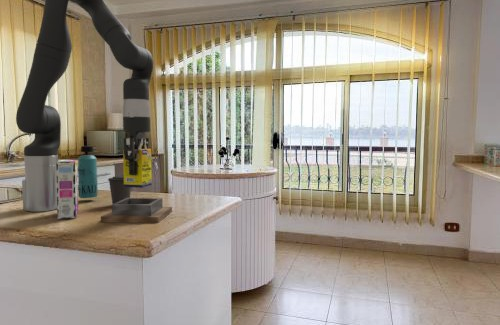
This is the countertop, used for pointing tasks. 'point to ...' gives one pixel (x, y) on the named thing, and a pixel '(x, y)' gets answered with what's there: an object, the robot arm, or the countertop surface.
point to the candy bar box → (67, 189)
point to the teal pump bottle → (87, 174)
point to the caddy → (137, 210)
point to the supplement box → (139, 170)
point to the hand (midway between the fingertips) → (137, 173)
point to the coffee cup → (118, 189)
